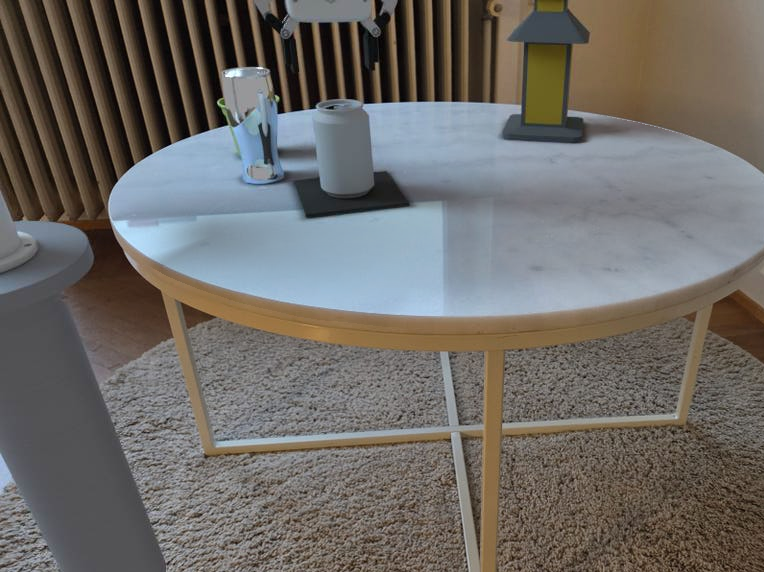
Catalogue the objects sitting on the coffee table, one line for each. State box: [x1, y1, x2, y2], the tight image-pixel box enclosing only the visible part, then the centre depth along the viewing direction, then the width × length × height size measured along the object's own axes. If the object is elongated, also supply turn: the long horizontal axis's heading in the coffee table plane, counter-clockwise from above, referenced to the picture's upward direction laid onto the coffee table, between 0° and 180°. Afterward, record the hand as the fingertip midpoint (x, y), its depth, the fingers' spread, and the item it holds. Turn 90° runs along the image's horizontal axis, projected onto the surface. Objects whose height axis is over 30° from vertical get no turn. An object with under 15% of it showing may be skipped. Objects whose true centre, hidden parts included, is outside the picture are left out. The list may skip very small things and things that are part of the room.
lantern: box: [501, 0, 591, 144], centre depth 117 cm, size 14×14×30 cm
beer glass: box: [220, 66, 285, 185], centre depth 98 cm, size 7×7×15 cm
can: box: [312, 98, 374, 198], centre depth 93 cm, size 8×8×12 cm
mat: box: [293, 170, 410, 218], centre depth 96 cm, size 14×14×1 cm
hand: (333, 70), depth 87 cm, fingers open, 9 cm apart
